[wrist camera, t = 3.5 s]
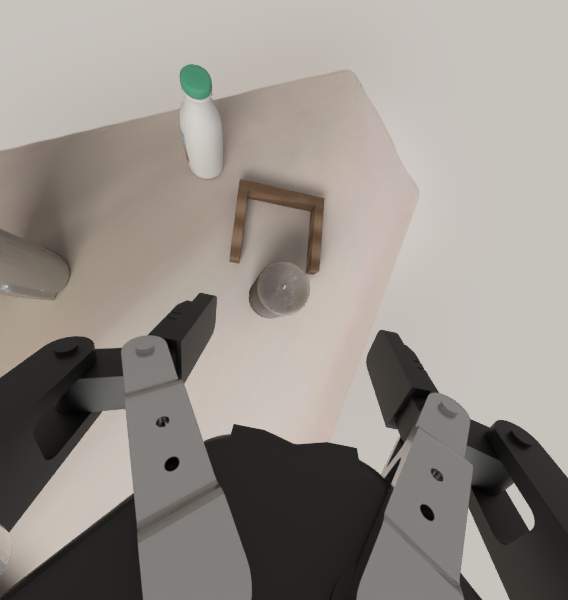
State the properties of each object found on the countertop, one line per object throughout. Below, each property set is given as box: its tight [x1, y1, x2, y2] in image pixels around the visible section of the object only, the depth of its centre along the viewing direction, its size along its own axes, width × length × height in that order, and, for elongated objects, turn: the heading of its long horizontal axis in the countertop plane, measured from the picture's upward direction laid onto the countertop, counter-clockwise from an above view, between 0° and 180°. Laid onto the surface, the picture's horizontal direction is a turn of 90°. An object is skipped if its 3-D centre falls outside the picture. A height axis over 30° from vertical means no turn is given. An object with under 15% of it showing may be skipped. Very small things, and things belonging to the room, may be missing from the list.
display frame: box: [230, 179, 324, 274], centre depth 56 cm, size 18×20×4 cm
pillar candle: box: [249, 261, 310, 318], centre depth 48 cm, size 10×10×15 cm
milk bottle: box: [179, 65, 223, 179], centre depth 46 cm, size 8×8×20 cm
